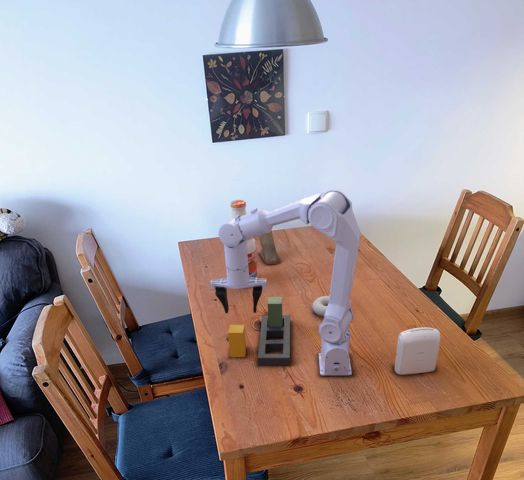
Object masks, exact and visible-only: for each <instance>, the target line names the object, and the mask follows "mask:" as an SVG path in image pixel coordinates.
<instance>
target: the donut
mask: <svg viewBox="0 0 524 480" xmlns="http://www.w3.org/2000/svg"><path fill="white" fill-rule="evenodd" d="M328 303H329V295H324V296H319V297H318V298H316V299H314V301H313V303H312V311H313V312H314V313H315V314H316V315H318V316H320V317H322V318H324V315H325V312H326V309H327V306H328Z"/></svg>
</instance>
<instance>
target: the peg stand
mask: <svg viewBox="0 0 524 480" xmlns="http://www.w3.org/2000/svg"><path fill="white" fill-rule="evenodd" d="M259 331H260V332H259V340H258V341H259V342H258V351H257V366H291V314H283V327H269V325H268V314H267V315H261V323H260V330H259ZM275 338H277V339H275ZM278 338H280V339H278ZM281 338H282V339H281ZM267 352H282V353H267Z"/></svg>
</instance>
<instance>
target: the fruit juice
mask: <svg viewBox="0 0 524 480" xmlns="http://www.w3.org/2000/svg"><path fill="white" fill-rule="evenodd" d="M230 208H231V215H230V219H229V220H231V219H232V218H234V217H236V216H238V215H240V216H244V215H246V214H248V213H247V209H246V208H247V202H246V200H243V199H236V200H231V201H230ZM247 255H248V268H249V277H253V278H259V277H258V264H257V262H258V261H257V246H256V240H255V238H252V239H249V240H247Z"/></svg>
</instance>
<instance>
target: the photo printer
mask: <svg viewBox="0 0 524 480" xmlns="http://www.w3.org/2000/svg"><path fill="white" fill-rule="evenodd" d="M396 344H397V345H396V352H395V361H394V372H395V373H396V374H397V375H400V376H402V375H416V374H423V373H430V372H434V371H435V369H436V365H437V359H438V356H439V355H438V354H439V349H440V344H441V333H440V331H439V329H438V328H434V327H426V326H425V327H414V328H409V329H407V330H404V331H401V332H399V334H398V336H397V343H396Z"/></svg>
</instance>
